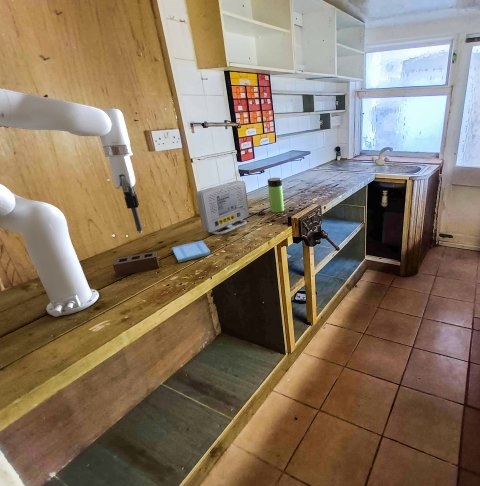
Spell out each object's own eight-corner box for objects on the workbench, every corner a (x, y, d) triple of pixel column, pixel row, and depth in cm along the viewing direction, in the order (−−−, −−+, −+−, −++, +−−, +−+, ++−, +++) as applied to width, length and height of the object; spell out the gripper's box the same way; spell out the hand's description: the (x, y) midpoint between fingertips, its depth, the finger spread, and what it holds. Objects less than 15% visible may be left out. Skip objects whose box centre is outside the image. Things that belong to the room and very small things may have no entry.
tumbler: (268, 210, 172) (265, 178, 165) (281, 207, 175) (278, 176, 168) (273, 213, 166) (269, 181, 159) (286, 211, 169) (283, 179, 162)
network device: (241, 217, 162) (235, 179, 153) (254, 220, 157) (248, 180, 149) (200, 234, 142) (191, 191, 134) (213, 237, 138) (205, 193, 130)
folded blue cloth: (211, 254, 123) (210, 251, 122) (178, 262, 117) (177, 259, 116) (202, 243, 133) (202, 240, 132) (172, 250, 127) (171, 247, 126)
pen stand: (159, 267, 113) (155, 256, 112) (116, 276, 109) (112, 265, 107) (159, 261, 118) (156, 251, 116) (118, 269, 113) (115, 258, 111)
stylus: (142, 233, 109) (131, 190, 103) (137, 233, 109) (125, 191, 103) (143, 231, 111) (132, 189, 105) (138, 232, 110) (126, 190, 104)
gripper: (109, 149, 104) (124, 202, 111) (99, 154, 91) (116, 215, 98) (134, 147, 107) (147, 200, 114) (128, 152, 93) (143, 211, 101)
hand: (133, 206), depth 106 cm, fingers closed on stylus, 1 cm apart
